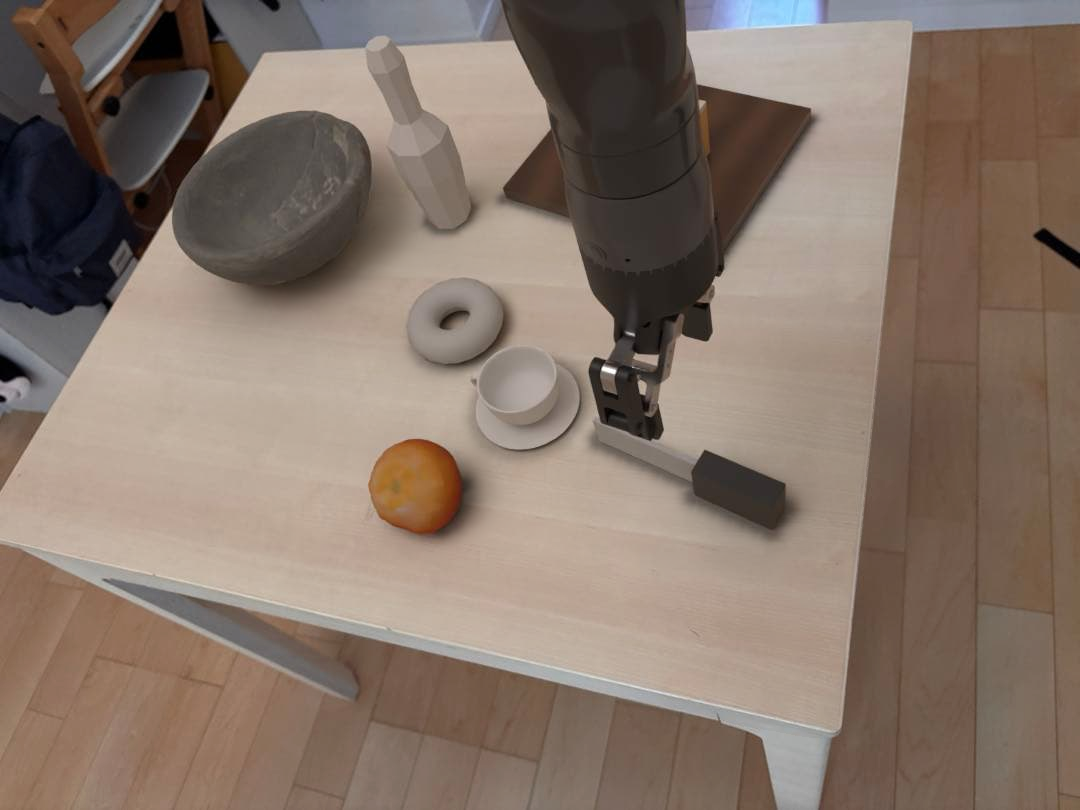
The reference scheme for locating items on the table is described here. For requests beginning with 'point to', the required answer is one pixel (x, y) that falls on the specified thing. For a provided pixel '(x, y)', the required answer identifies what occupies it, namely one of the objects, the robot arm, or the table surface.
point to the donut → (464, 338)
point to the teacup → (524, 397)
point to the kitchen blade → (708, 476)
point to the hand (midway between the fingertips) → (673, 382)
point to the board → (734, 160)
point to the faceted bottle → (419, 141)
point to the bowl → (274, 198)
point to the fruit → (416, 486)
